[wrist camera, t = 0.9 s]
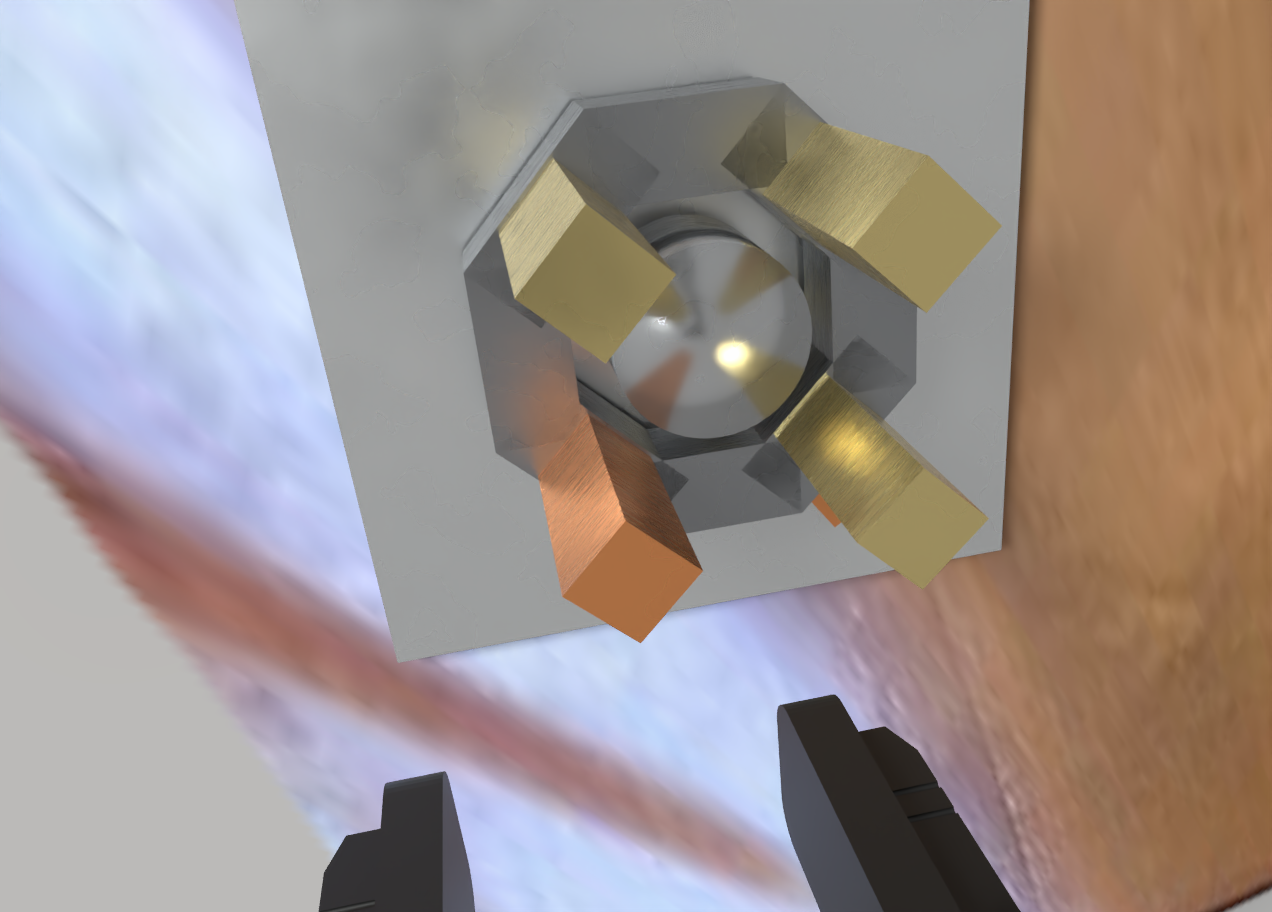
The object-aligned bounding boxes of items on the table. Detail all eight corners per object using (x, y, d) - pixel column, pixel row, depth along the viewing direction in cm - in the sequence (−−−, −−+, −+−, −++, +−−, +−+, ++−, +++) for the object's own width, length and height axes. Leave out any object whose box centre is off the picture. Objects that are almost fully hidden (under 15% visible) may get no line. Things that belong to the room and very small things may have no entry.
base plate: (229, -47, 27) (185, -58, 22) (1018, -133, 29) (1122, -158, 25) (398, 646, 36) (392, 738, 31) (988, 536, 38) (1060, 607, 34)
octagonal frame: (437, 117, 28) (435, 166, 20) (883, 60, 29) (1058, 83, 21) (510, 526, 33) (533, 701, 25) (884, 460, 35) (1024, 606, 26)
